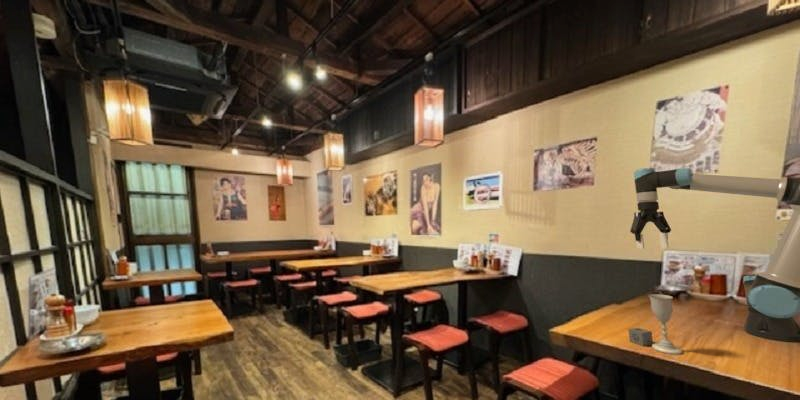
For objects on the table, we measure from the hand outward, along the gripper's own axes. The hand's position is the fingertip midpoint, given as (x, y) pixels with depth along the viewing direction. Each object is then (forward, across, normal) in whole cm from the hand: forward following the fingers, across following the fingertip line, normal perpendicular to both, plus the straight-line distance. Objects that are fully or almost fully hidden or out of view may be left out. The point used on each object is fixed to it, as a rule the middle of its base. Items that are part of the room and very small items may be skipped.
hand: (652, 247), depth 135 cm
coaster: (+35, +24, +20) cm, 47 cm away
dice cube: (+35, +27, +13) cm, 46 cm away
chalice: (+34, +24, +20) cm, 46 cm away
